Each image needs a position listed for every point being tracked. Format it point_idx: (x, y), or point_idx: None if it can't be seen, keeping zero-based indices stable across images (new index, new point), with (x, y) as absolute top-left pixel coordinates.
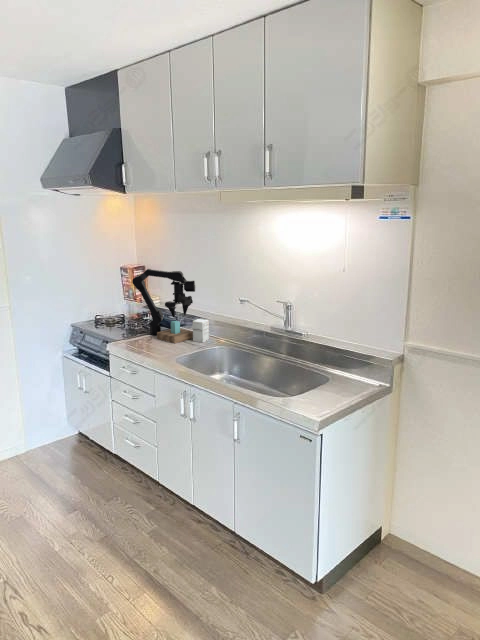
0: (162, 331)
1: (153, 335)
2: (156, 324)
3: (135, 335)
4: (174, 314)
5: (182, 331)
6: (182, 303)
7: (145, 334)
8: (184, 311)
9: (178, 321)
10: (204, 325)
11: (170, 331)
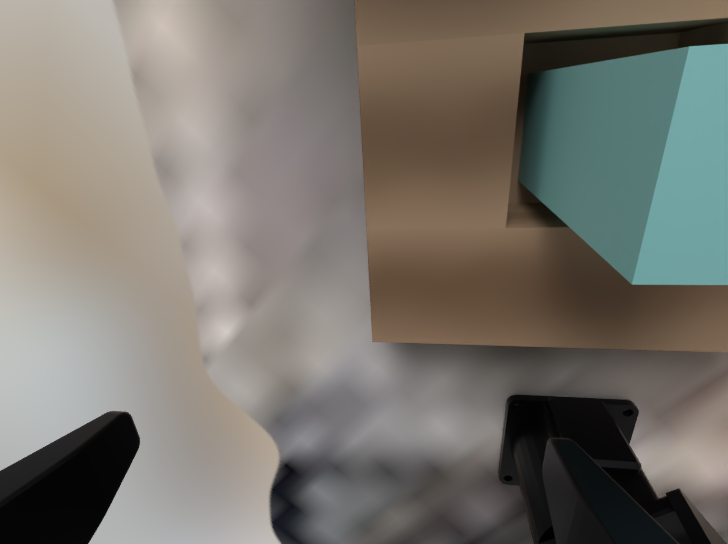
0: (695, 336)
1: (632, 419)
2: (707, 527)
3: None
4: (621, 523)
5: (491, 71)
6: None
7: None
8: (53, 523)
9: (693, 111)
10: None
11: None
